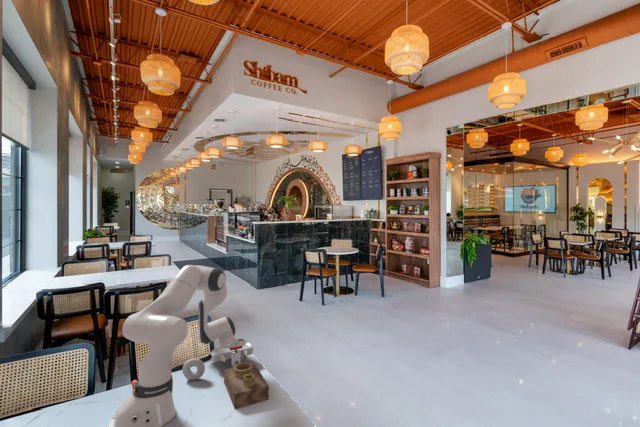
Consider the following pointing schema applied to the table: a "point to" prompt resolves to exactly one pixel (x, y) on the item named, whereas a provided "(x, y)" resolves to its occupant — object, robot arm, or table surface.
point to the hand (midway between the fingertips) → (235, 358)
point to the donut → (189, 373)
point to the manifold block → (245, 385)
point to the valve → (235, 355)
